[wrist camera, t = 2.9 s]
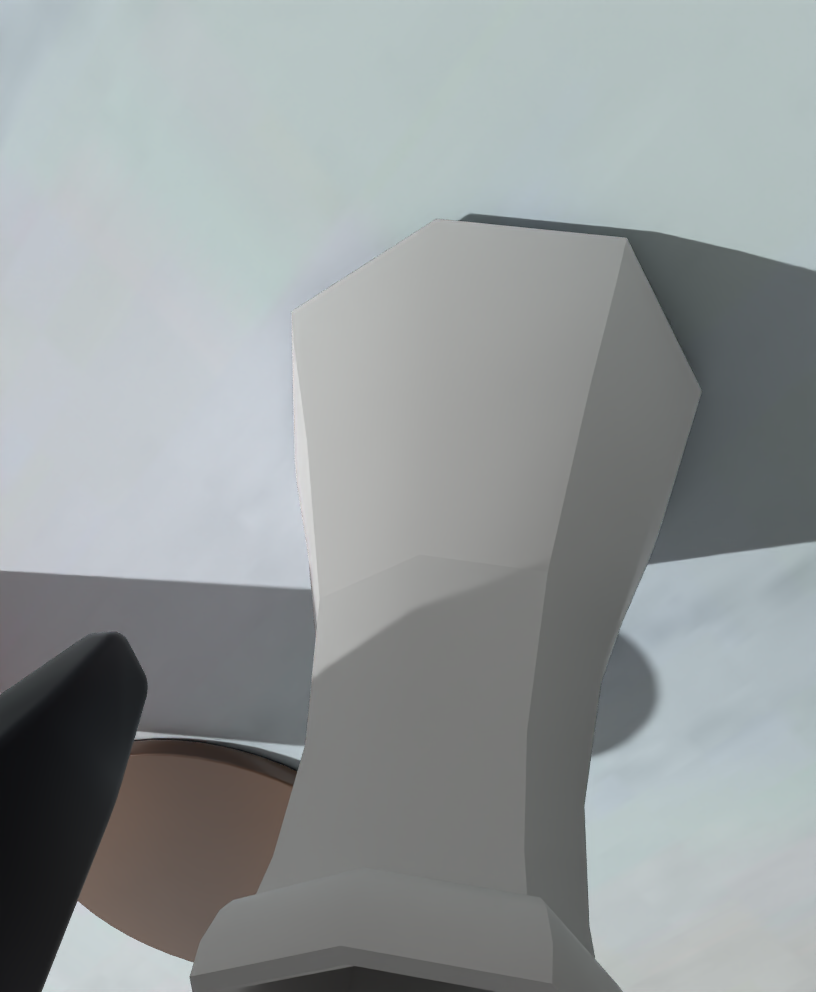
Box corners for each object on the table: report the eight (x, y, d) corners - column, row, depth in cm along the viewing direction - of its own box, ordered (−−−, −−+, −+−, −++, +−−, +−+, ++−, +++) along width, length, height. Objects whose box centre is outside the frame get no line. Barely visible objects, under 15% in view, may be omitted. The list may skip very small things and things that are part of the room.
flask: (227, 265, 13) (-347, 760, 4) (682, 155, 11) (1146, 647, 3) (353, 597, 16) (165, 1213, 8) (711, 555, 15) (945, 1297, 6)
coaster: (353, 732, 19) (349, 749, 18) (437, 967, 24) (435, 984, 24) (-24, 744, 21) (-35, 759, 21) (130, 954, 27) (124, 970, 26)
